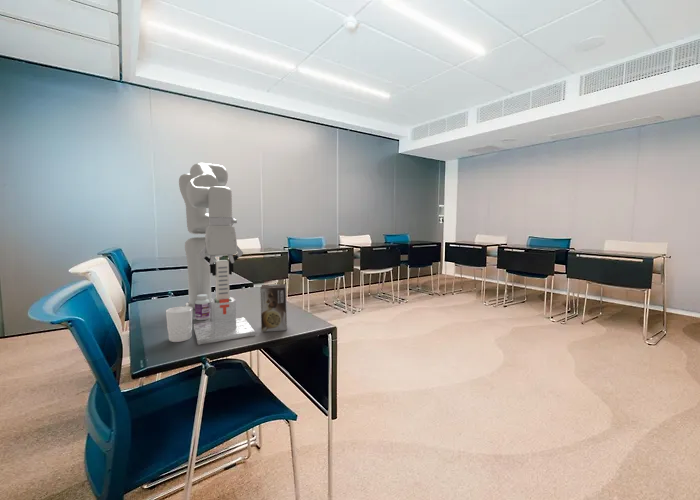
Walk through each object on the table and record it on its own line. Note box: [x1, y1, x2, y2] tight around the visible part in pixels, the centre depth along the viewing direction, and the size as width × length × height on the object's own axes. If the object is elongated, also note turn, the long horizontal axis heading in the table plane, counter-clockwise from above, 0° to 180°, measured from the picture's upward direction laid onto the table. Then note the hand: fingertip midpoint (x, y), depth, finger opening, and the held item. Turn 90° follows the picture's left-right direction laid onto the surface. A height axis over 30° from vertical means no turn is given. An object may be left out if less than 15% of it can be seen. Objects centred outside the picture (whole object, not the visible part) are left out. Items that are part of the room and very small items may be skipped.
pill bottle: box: [194, 294, 210, 321], centre depth 129 cm, size 5×5×10 cm
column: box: [214, 259, 231, 303], centre depth 113 cm, size 4×4×18 cm
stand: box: [193, 296, 256, 346], centre depth 114 cm, size 18×18×12 cm
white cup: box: [165, 305, 194, 343], centre depth 107 cm, size 8×8×10 cm
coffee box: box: [259, 283, 288, 333], centre depth 118 cm, size 9×6×16 cm
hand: (222, 274), depth 112 cm, fingers open, 4 cm apart
